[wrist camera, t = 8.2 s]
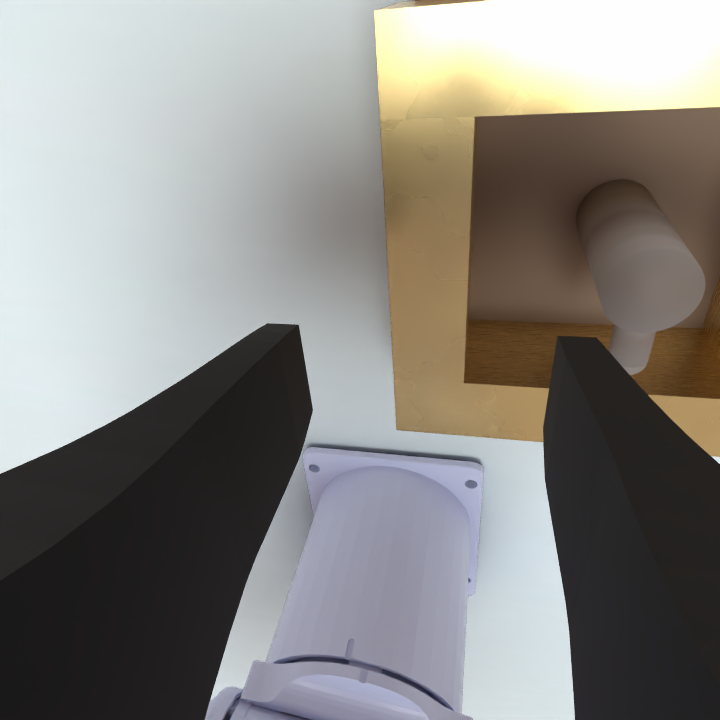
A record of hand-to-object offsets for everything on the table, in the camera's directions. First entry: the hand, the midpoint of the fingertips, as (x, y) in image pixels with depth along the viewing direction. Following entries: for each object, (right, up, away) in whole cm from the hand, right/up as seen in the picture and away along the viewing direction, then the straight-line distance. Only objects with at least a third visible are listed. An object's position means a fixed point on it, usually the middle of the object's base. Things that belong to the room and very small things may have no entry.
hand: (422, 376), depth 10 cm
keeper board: (+6, +5, +6) cm, 10 cm away
